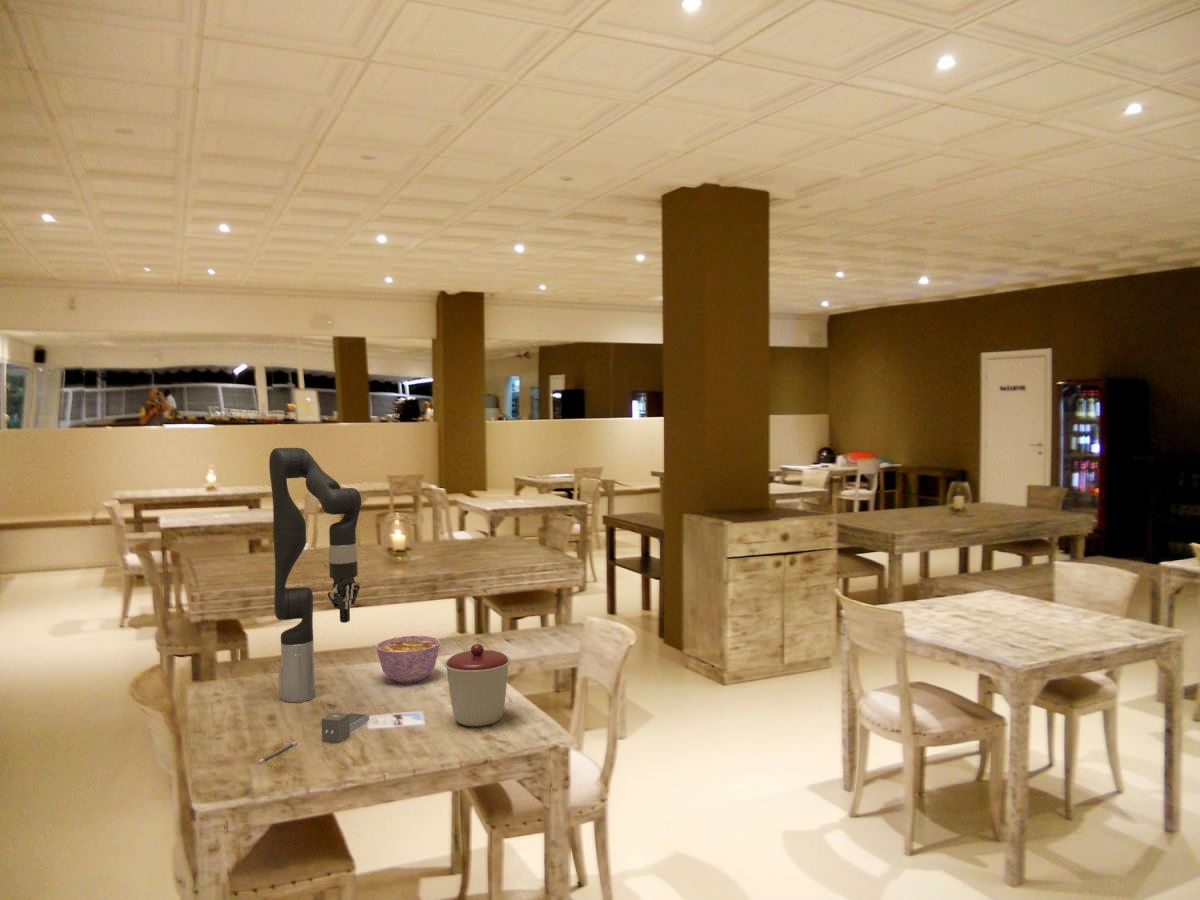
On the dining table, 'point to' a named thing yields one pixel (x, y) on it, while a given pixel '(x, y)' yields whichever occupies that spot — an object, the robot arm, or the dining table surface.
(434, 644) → the bowl of food
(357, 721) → the phone
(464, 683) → the canister
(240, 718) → the dining table surface
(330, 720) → the charger
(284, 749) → the cable
